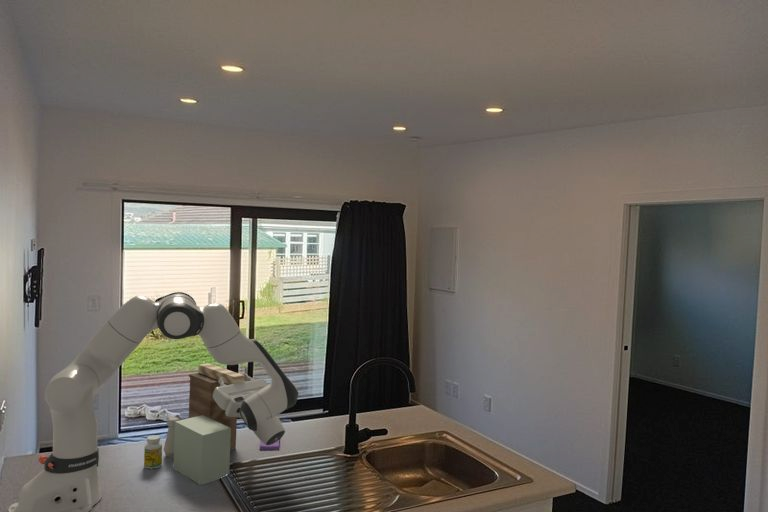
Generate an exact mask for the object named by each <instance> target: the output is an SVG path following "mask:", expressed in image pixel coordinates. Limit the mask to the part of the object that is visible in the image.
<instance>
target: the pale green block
mask: <svg viewBox="0 0 768 512" xmlns="http://www.w3.org/2000/svg"><path fill="white" fill-rule="evenodd" d="M230 440H231V428H230V427H228V426H225V425H223V424H221V423H219V422H216V421H214V420H212V419H210V418H208V417H205V416H203V415H201V416H197V417H193V418H189V417H188V418H185V419H180V420H179V421H175V435H174V457H173V466H172V467H173V469H174V470H176V471H177V472H178V473H180V474H182V475H183V476H185V477H187V478H188V479H190V480H192V481H194V482H195V483H197V484H198V485H199V486H202V485H205V484H209V483H211V482H214V481H218V480H220V478H221V477H223V476H225V475H226V474H229V475H230V461H231V460H230V459H231V450H230ZM221 479H222V478H221Z"/></svg>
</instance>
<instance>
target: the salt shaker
mask: <svg viewBox="0 0 768 512" xmlns="http://www.w3.org/2000/svg"><path fill="white" fill-rule="evenodd" d="M179 420H181V419H180V418H179V417H176V416H175V417H169V418H168V419H167V420H166V426H168V428H167V429H168V430H167V433H166V437H165V441H164V446H163V451H164V454H165V456H166V458H170V459H171V458H172V457H173V458H174V435H175V421H179Z"/></svg>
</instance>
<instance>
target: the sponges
mask: <svg viewBox="0 0 768 512" xmlns="http://www.w3.org/2000/svg"><path fill="white" fill-rule="evenodd" d="M271 449H274V450H279V449H280V439H279V440H278V441H277V442H275V443H274V444H271V445H265V444H264V443H263V442H262V441H261V440H260V443H259V450H260V451H261V450H262V451H265V450H266V451H267V450H270V451H271Z"/></svg>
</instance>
